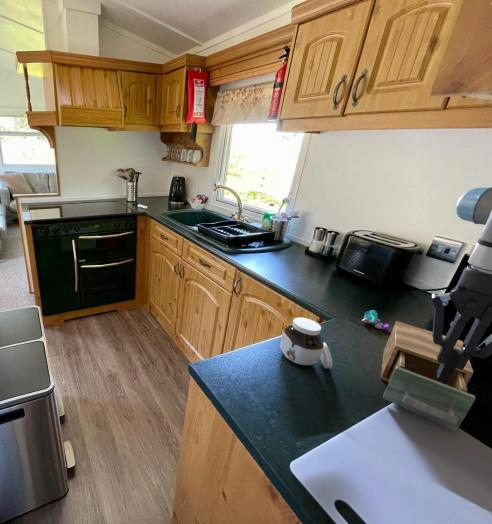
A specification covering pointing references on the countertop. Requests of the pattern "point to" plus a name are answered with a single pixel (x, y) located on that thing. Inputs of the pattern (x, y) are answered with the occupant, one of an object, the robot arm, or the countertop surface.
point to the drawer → (428, 390)
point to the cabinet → (415, 348)
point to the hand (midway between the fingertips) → (442, 377)
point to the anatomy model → (368, 320)
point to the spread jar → (305, 344)
